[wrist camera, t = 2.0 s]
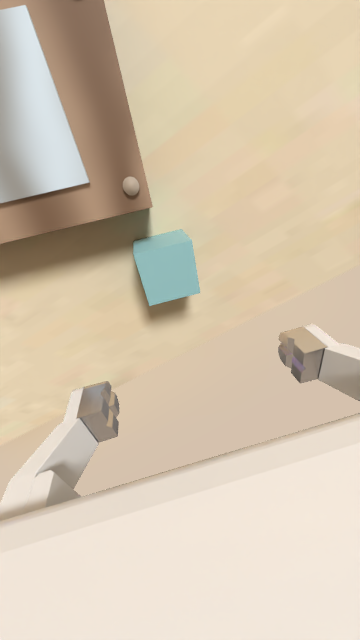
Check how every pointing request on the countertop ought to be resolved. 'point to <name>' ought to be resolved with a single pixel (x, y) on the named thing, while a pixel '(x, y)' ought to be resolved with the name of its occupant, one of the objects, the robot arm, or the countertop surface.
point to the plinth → (63, 120)
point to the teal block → (166, 266)
